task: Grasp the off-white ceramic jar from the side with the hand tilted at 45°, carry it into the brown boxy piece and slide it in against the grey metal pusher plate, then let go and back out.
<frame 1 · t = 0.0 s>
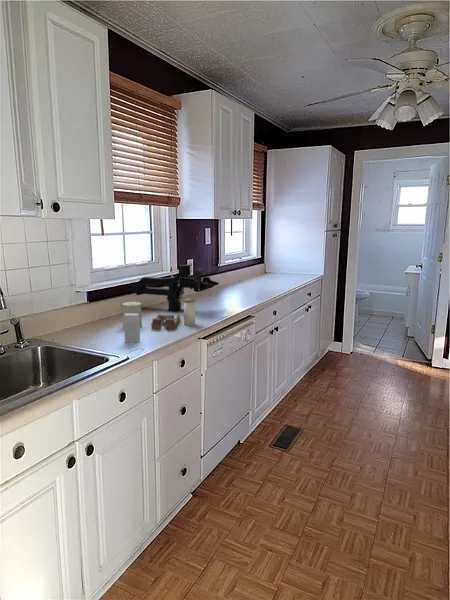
hand: (216, 284, 231), 17 cm above the counter, tool horizontal, fingers open, 9 cm apart
brown boxy piece: (166, 324, 210), on the counter
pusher: (165, 321, 206), point 3 cm above the counter, slide at 0.0 cm
can: (132, 326, 205), on the counter
skincare box: (132, 341, 181), on the counter
jar: (189, 324, 211), on the counter
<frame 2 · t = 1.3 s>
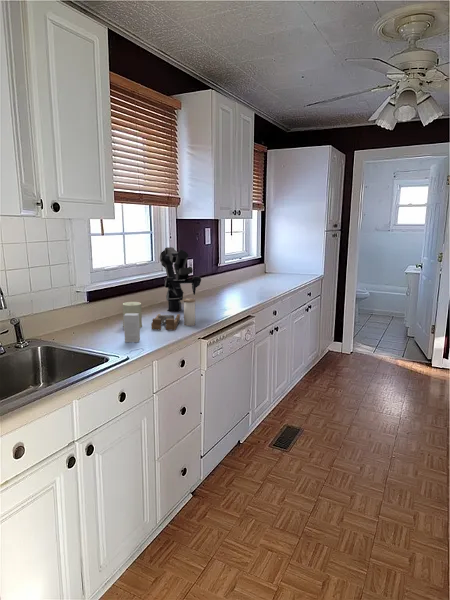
hand: (186, 294, 215), 14 cm above the counter, tool tilted 45°, fingers open, 9 cm apart
nothing on the counter moved.
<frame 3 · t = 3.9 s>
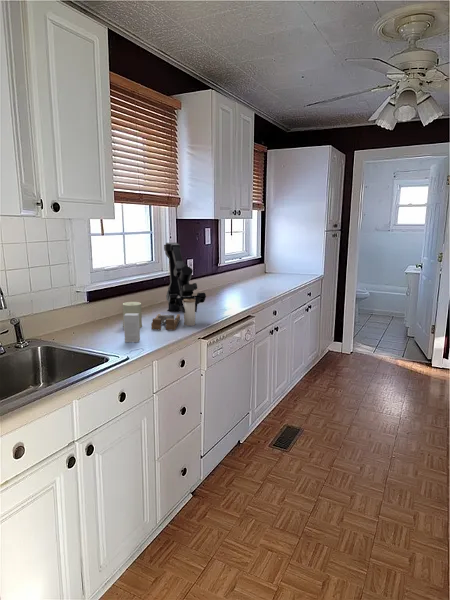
hand: (190, 312, 208), 7 cm above the counter, tool tilted 45°, fingers closed on jar, 6 cm apart
jar: (189, 324, 211), on the counter, touching gripper
everything else where it was.
when the fingers open (7 cm above the counter, at t = 8.3 s): jar stays where it is, resting in brown boxy piece.
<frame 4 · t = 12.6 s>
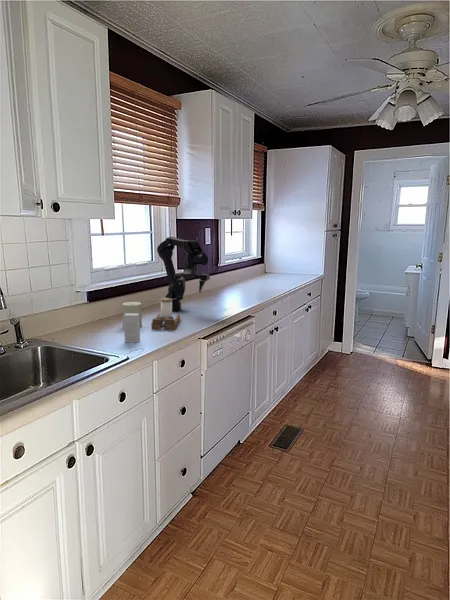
hand: (192, 292, 228), 13 cm above the counter, tool pointing down, fingers open, 9 cm apart
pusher: (164, 322, 203), point 3 cm above the counter, slide at 3.3 cm
jar: (166, 324, 210), resting in brown boxy piece
everything else where it was.
at the end: jar 0.3 cm from the brown boxy piece (horizontally); jar tilted 1°; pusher slide at 3.3 cm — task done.
